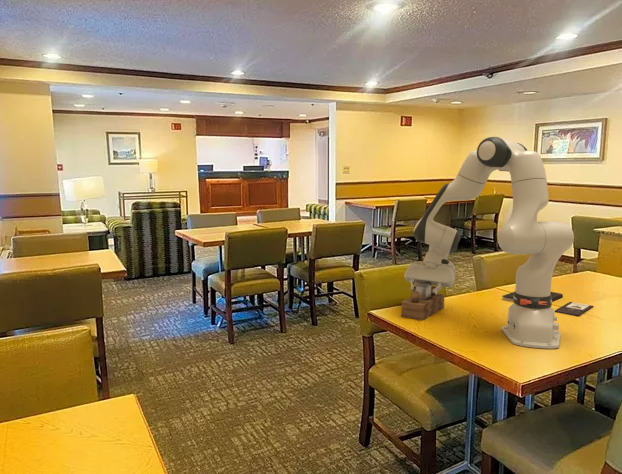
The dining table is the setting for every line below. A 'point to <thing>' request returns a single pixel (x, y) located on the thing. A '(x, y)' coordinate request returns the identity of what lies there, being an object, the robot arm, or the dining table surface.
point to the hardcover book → (554, 295)
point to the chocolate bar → (574, 309)
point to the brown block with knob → (422, 306)
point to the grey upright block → (424, 290)
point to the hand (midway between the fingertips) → (423, 291)
